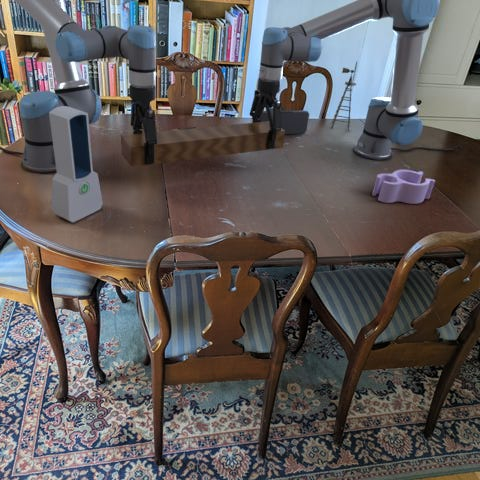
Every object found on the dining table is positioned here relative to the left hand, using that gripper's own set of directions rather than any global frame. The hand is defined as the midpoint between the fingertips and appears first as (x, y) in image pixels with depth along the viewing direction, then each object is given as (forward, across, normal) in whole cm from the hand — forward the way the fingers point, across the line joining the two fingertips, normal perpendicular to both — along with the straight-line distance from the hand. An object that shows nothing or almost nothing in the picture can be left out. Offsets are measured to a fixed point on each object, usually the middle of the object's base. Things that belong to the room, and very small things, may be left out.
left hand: (143, 156), depth 147 cm
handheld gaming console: (+11, +30, -74) cm, 80 cm away
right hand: (0, 0, -44) cm, 44 cm away
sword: (+11, +42, -23) cm, 49 cm away
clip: (+10, -35, -81) cm, 89 cm away
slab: (+1, 0, -22) cm, 22 cm away
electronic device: (+10, -10, +23) cm, 27 cm away
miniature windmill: (+11, +30, -107) cm, 112 cm away
